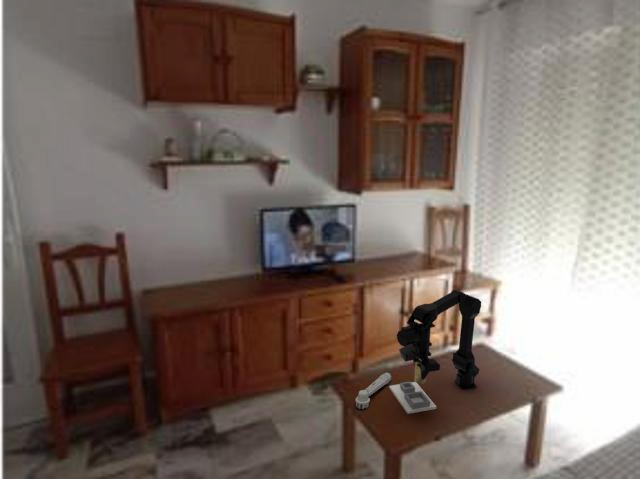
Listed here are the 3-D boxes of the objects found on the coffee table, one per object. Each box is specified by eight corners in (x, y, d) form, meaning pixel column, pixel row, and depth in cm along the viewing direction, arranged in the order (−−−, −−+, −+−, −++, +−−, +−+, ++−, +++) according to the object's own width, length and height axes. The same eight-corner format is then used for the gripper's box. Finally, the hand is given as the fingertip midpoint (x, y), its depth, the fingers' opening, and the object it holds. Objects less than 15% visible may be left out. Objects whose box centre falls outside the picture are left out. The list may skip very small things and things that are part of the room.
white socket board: (415, 383, 188) (415, 377, 187) (436, 408, 171) (436, 401, 170) (389, 388, 185) (389, 381, 184) (407, 413, 168) (407, 406, 167)
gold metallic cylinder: (422, 377, 174) (423, 358, 172) (427, 383, 170) (428, 364, 168) (412, 378, 173) (413, 360, 171) (417, 384, 169) (418, 365, 167)
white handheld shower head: (393, 373, 189) (365, 394, 169) (392, 388, 190) (364, 411, 169) (382, 370, 192) (353, 390, 172) (381, 384, 193) (352, 406, 172)
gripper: (392, 331, 174) (391, 367, 178) (413, 353, 156) (411, 392, 160) (418, 328, 177) (416, 363, 180) (442, 349, 159) (439, 388, 163)
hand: (420, 376), depth 171 cm, fingers closed on gold metallic cylinder, 4 cm apart
